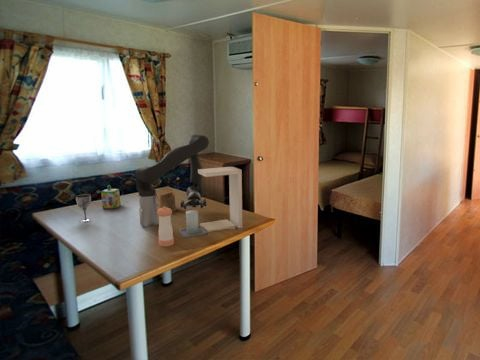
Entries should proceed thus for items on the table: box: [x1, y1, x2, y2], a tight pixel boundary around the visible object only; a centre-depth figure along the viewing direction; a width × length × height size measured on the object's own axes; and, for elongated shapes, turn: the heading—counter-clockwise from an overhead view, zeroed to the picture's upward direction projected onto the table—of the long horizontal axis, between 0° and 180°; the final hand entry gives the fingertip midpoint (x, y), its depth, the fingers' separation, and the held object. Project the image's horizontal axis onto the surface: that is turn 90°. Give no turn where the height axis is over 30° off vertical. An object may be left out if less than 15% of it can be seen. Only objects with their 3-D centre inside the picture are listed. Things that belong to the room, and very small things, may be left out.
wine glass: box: [75, 193, 92, 221], centre depth 207 cm, size 8×8×15 cm
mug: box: [156, 191, 178, 212], centre depth 226 cm, size 12×18×12 cm, turn 132°
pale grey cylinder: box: [185, 209, 199, 234], centre depth 182 cm, size 6×6×11 cm
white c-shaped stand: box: [198, 166, 243, 233], centre depth 190 cm, size 20×12×32 cm, turn 115°
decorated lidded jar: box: [100, 184, 122, 209], centre depth 236 cm, size 9×9×15 cm
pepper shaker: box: [157, 206, 175, 247], centre depth 167 cm, size 7×7×19 cm
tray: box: [177, 225, 209, 239], centre depth 183 cm, size 12×12×2 cm
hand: (193, 207), depth 192 cm, fingers open, 8 cm apart
